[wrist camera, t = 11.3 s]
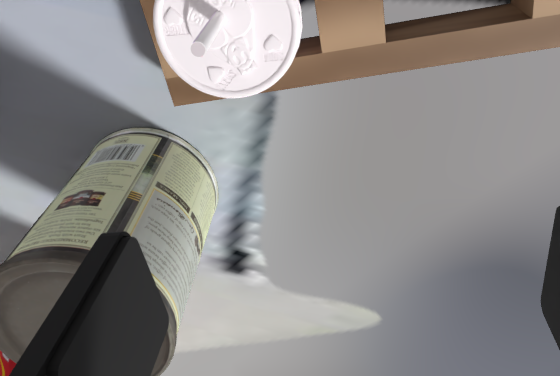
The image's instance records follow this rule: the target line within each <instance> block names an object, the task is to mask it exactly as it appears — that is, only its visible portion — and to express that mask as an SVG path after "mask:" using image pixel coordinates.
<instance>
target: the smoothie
mask: <svg viewBox="0 0 560 376" xmlns="http://www.w3.org/2000/svg"><path fill="white" fill-rule="evenodd" d="M153 24H154V31H155V36H156V40H157V43H158V46H159V48H160V50H161V52H162V54H163V56H164V58H165V60H166V61H167V63H168V64H169V65H170V67H171V68H172V69H173V70H174V72H175V73H176V74H177V75H178V76H179V77H180V78H181V79H183V80H184V81H185V82H186V83H188V84H189V85H191V86H192V87H194V88H196V89H197V90H199V91H202V92H204V93H207V94H209V95H213V96H217V97H222V98H243V97H248V96H252V95H255V94H258V93H260V92H262V91H264V90H266V89H268V88H269V87H271V86H272V85H274V84H275V83H276V82H277V81H278V80H279V79H280V78H281V77H282V76H283V75H284V74H285V73H286V71H287V70H288V69H289V67H290V65H291V64H292V62H293V60H294V58H295V55H296V52H297V50H298V48H299V44H300V39H301V34H302V28H303V26H302V12H301V6H300V3H299V0H155V2H154V9H153Z"/></svg>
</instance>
